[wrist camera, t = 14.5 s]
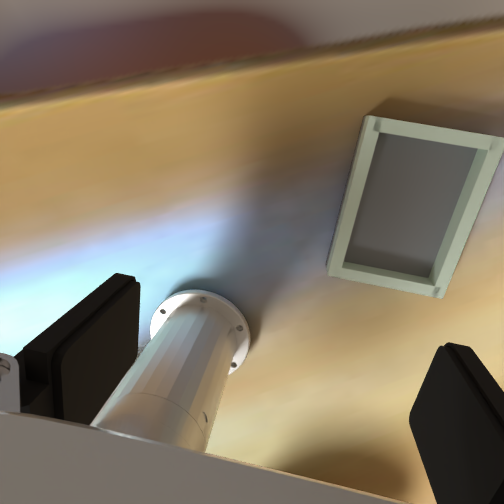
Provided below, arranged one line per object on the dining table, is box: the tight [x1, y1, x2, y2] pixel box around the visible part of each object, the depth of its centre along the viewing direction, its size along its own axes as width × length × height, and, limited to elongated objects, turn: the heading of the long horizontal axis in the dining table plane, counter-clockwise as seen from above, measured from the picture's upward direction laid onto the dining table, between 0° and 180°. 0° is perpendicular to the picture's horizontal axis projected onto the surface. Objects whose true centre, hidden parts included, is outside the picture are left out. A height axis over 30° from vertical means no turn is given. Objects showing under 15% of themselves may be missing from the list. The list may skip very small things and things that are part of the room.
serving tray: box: [326, 115, 504, 299], centre depth 35 cm, size 16×12×3 cm
